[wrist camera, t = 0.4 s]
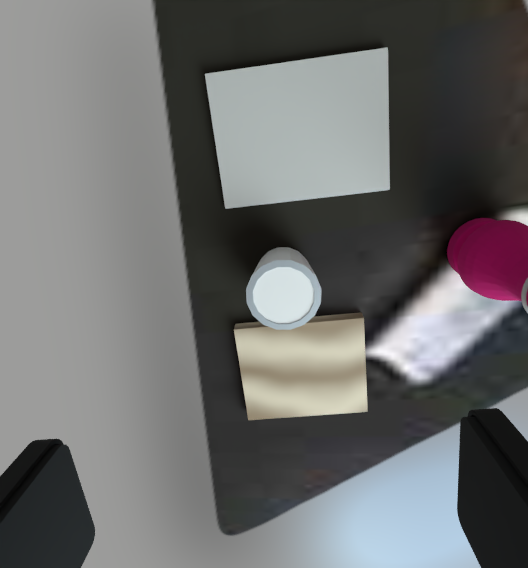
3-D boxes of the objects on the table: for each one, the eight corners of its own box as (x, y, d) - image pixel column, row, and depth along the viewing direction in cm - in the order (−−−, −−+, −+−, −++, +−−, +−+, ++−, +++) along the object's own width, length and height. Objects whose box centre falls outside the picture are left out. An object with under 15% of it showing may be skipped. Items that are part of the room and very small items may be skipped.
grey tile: (206, 75, 36) (204, 73, 35) (385, 49, 34) (387, 47, 33) (226, 207, 40) (225, 208, 39) (387, 188, 38) (389, 189, 37)
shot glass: (246, 296, 43) (240, 323, 36) (257, 235, 41) (252, 253, 34) (308, 307, 43) (312, 336, 36) (322, 247, 41) (329, 267, 34)
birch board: (235, 323, 44) (233, 329, 43) (361, 312, 43) (363, 318, 42) (249, 411, 48) (248, 420, 47) (364, 403, 47) (367, 411, 45)
